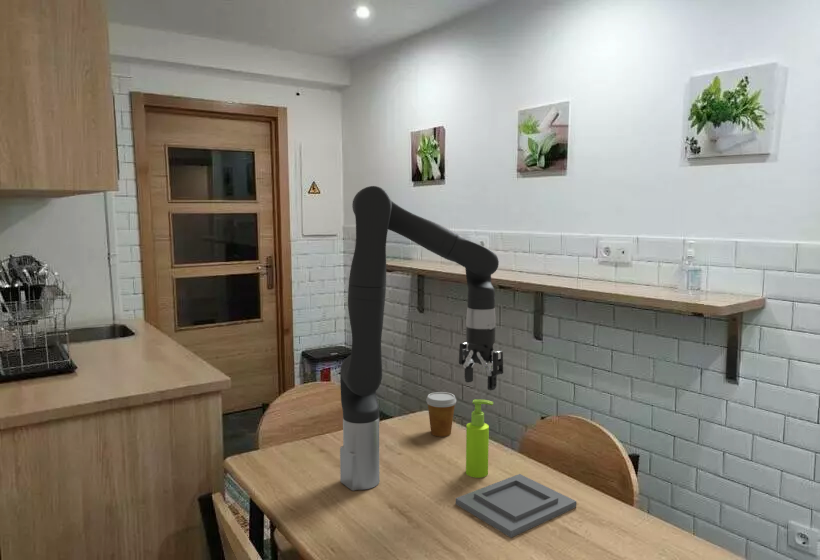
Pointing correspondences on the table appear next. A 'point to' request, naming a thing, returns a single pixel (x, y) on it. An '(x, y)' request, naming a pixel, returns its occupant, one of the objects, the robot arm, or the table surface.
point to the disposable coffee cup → (441, 413)
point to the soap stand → (515, 504)
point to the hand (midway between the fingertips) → (480, 385)
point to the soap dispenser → (477, 442)
